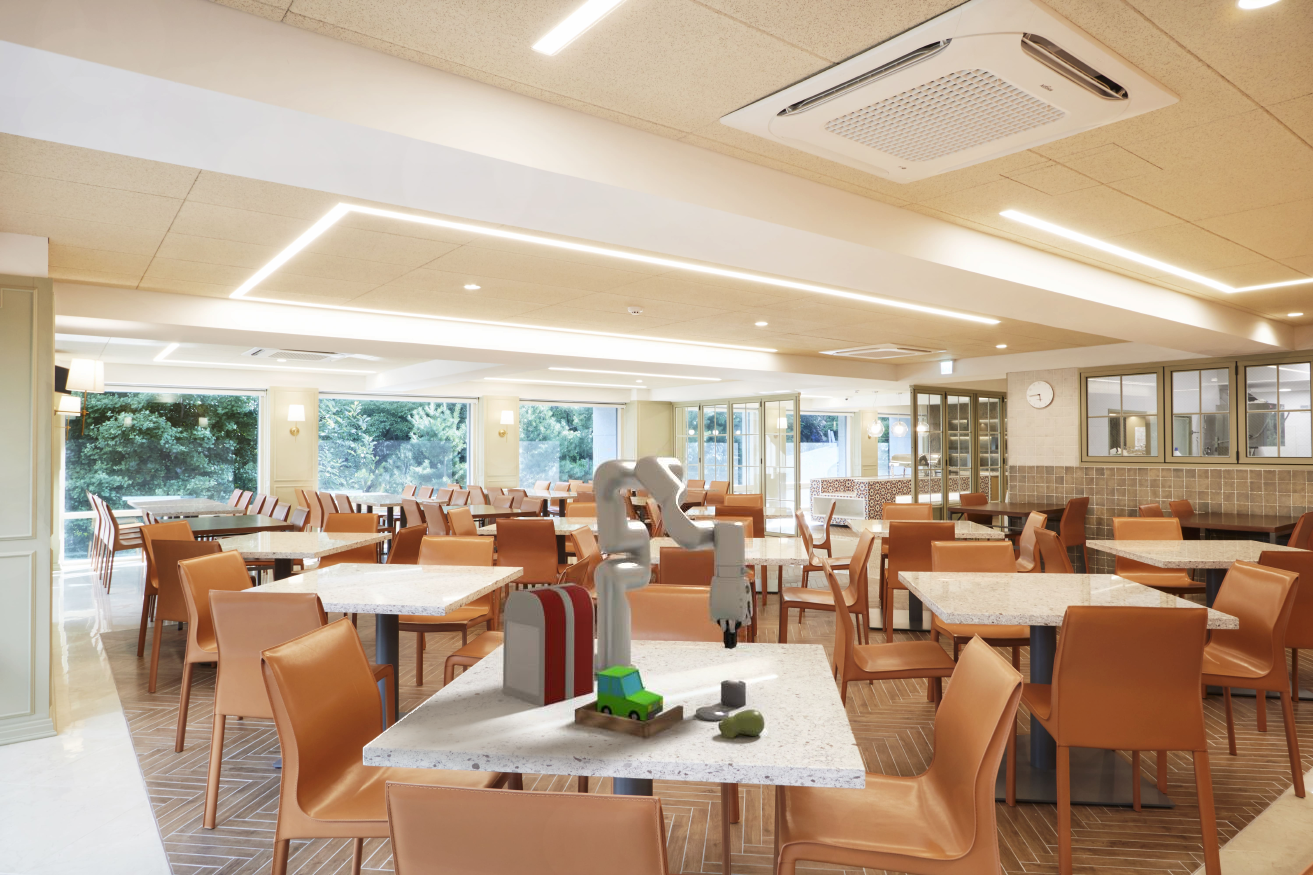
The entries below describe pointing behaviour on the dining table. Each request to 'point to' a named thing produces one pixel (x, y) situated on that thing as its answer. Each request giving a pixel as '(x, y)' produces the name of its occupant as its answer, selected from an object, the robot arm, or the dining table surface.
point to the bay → (627, 721)
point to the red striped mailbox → (549, 644)
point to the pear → (742, 724)
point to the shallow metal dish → (712, 713)
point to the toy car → (626, 695)
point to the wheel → (733, 693)
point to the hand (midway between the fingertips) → (730, 647)
